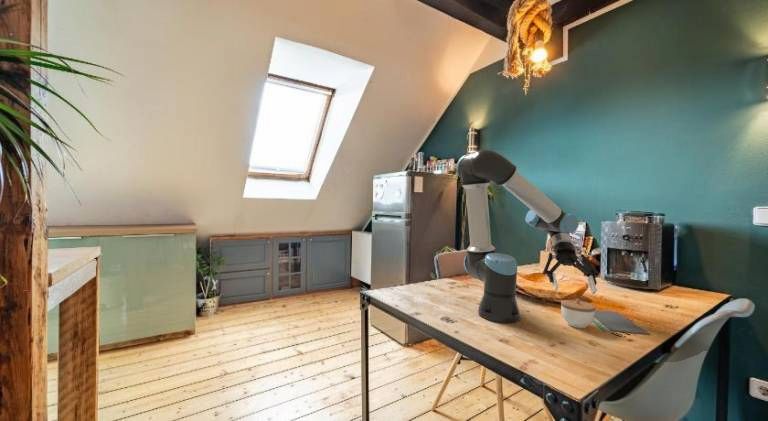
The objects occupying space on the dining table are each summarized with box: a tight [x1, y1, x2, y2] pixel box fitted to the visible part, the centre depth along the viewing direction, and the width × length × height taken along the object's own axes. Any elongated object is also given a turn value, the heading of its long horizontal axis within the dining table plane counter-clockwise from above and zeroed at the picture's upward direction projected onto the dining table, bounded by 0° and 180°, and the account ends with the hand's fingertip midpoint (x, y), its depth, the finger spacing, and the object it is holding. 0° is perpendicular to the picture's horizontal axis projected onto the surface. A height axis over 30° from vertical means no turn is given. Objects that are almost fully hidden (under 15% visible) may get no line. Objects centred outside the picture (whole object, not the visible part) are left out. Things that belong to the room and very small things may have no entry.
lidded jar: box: [560, 298, 596, 329], centre depth 118 cm, size 11×11×9 cm
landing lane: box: [592, 309, 651, 335], centre depth 124 cm, size 15×24×1 cm, turn 169°
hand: (575, 290), depth 125 cm, fingers open, 13 cm apart
